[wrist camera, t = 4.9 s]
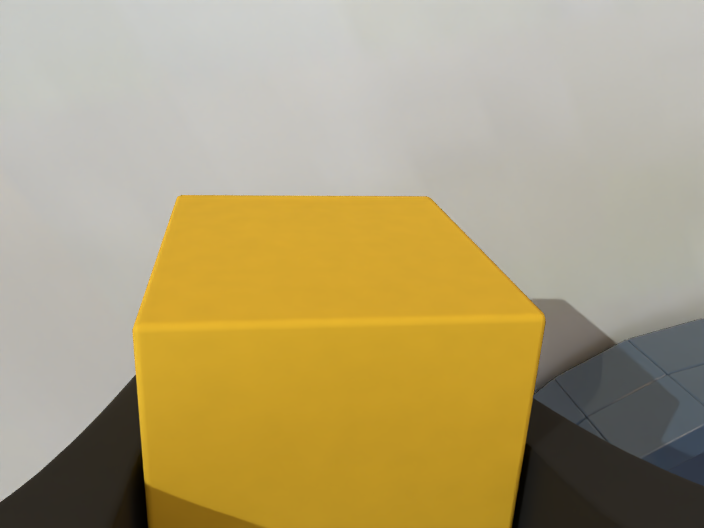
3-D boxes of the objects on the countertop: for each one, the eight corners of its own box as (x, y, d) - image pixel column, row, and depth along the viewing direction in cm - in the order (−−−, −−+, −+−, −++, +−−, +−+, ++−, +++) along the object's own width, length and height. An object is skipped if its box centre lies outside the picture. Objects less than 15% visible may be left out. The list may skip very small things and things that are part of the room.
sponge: (430, 195, 12) (550, 315, 7) (401, 511, 14) (478, 749, 10) (175, 193, 11) (130, 325, 7) (192, 525, 14) (167, 790, 9)
